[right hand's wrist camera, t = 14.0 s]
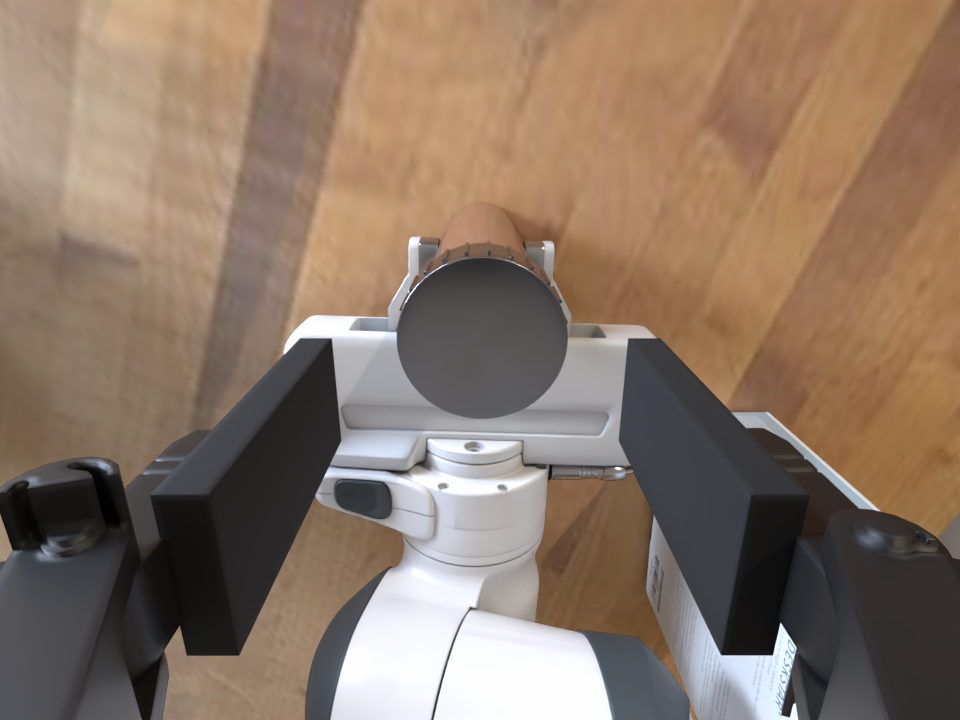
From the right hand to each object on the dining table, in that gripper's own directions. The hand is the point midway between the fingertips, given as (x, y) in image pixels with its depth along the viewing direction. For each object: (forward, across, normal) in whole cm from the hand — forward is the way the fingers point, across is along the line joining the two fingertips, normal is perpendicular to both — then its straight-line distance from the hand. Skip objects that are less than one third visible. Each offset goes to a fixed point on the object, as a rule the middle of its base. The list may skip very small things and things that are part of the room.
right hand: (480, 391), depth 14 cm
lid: (+3, 0, 0) cm, 3 cm away
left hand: (+17, 0, -1) cm, 17 cm away
